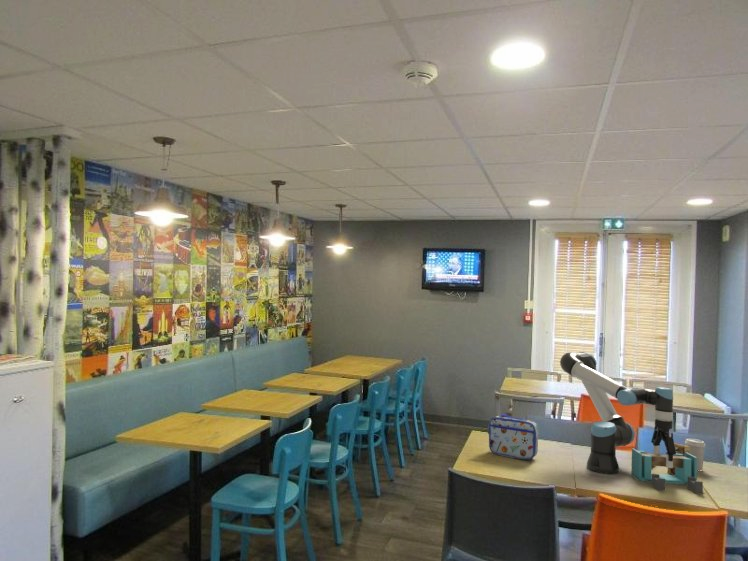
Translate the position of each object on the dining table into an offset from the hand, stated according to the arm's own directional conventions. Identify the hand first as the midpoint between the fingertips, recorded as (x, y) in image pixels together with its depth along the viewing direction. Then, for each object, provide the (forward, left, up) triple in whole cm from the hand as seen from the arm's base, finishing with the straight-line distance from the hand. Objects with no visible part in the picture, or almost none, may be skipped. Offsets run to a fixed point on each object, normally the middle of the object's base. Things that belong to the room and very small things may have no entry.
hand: (662, 463), depth 241 cm
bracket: (0, 0, -8) cm, 8 cm away
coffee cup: (+26, +23, -8) cm, 36 cm away
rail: (0, 0, -1) cm, 1 cm away
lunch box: (-69, +22, -8) cm, 73 cm away
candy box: (+12, +11, -8) cm, 18 cm away
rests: (0, -13, -8) cm, 15 cm away
